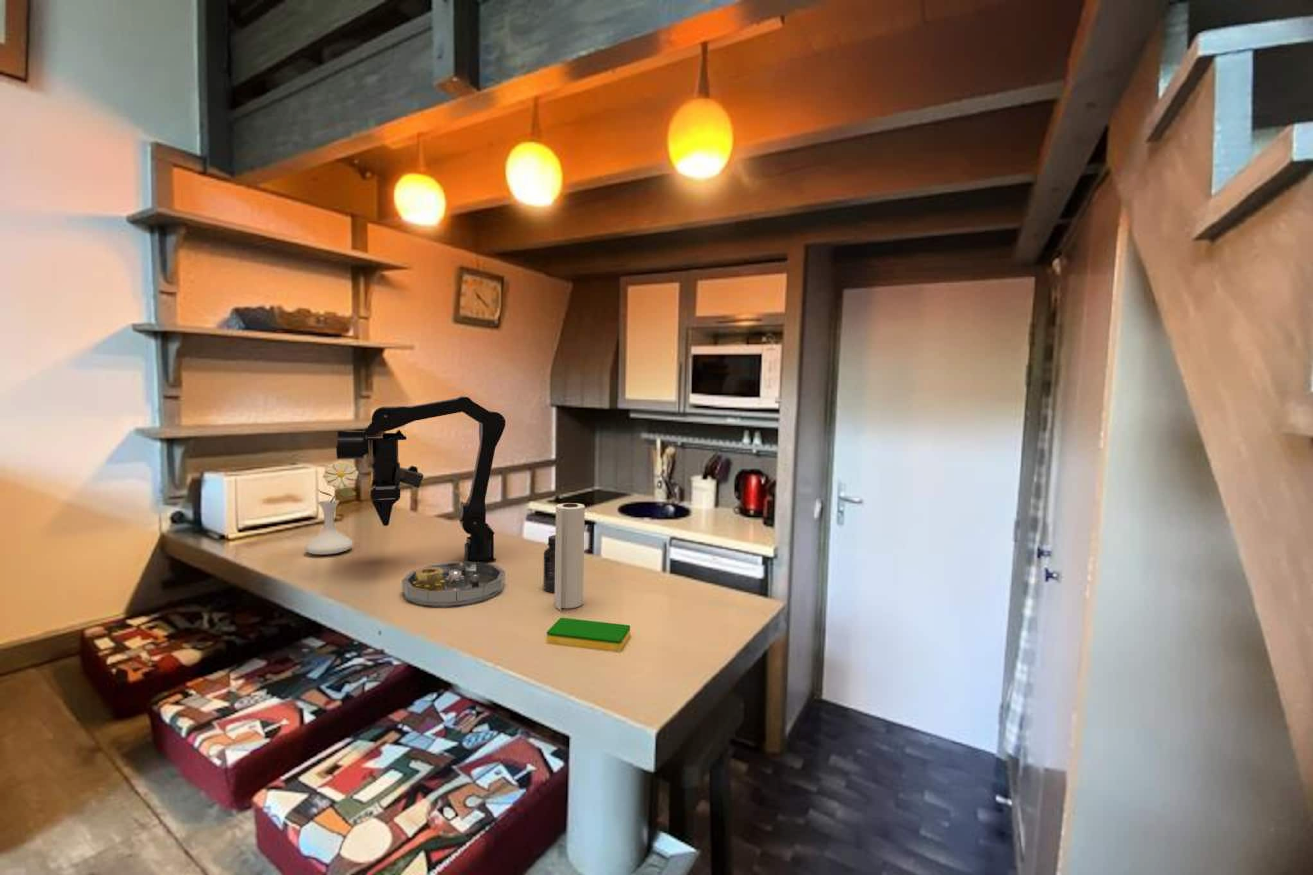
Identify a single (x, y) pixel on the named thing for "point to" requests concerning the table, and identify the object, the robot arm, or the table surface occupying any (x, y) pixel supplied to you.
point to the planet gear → (429, 579)
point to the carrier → (457, 585)
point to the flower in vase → (333, 510)
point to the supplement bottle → (549, 566)
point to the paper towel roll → (569, 555)
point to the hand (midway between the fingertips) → (385, 521)
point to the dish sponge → (589, 634)
